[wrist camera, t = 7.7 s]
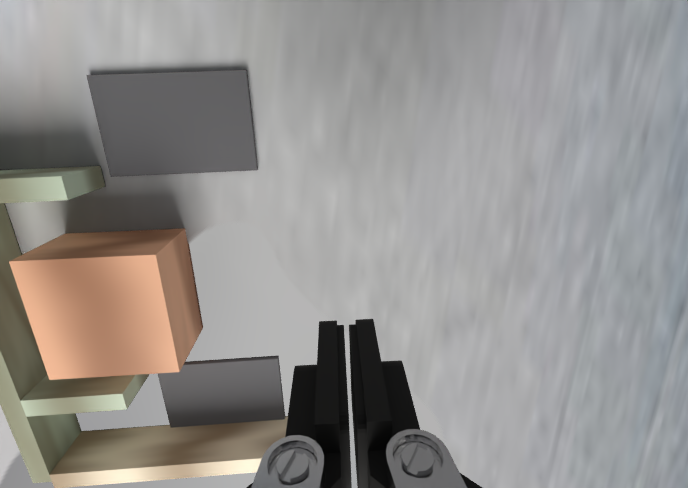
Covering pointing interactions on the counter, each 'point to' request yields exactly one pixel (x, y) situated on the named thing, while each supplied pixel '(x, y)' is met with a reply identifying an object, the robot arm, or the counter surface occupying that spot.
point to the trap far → (224, 392)
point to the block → (111, 302)
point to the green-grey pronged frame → (95, 387)
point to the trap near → (175, 122)
